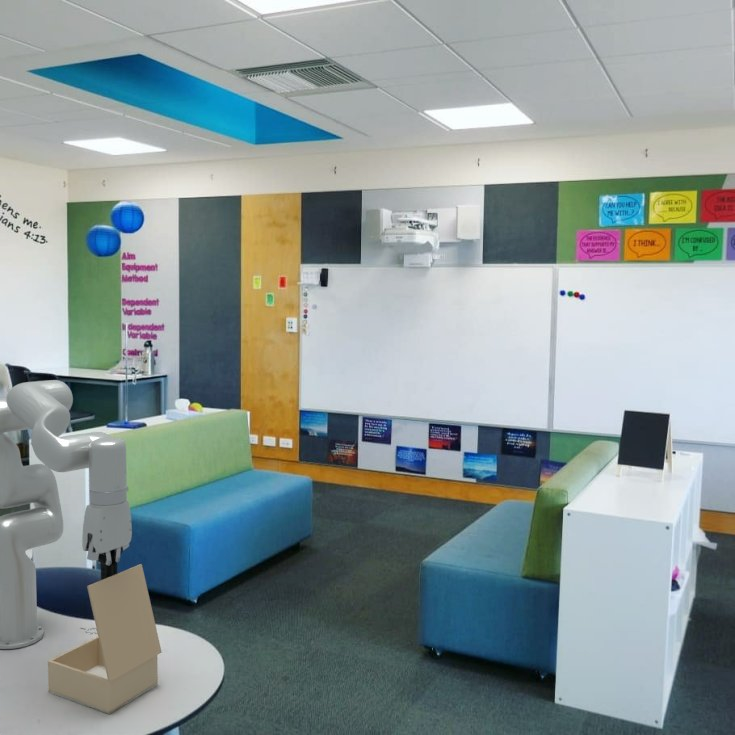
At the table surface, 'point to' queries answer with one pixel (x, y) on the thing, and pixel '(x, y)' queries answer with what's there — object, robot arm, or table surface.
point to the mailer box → (97, 679)
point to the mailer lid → (124, 621)
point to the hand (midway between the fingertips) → (109, 580)
